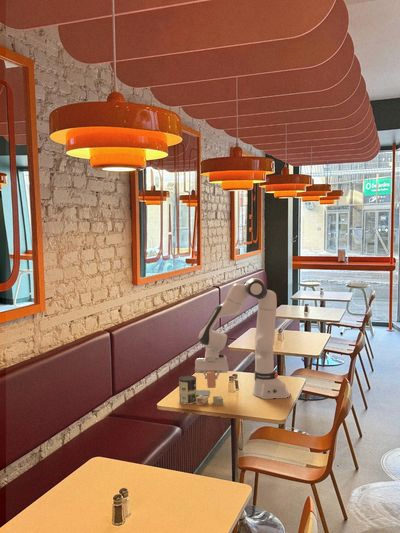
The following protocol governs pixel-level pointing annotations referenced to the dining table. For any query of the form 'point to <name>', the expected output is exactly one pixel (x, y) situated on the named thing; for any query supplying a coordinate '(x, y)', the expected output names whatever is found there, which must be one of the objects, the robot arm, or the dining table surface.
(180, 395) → the coffee can
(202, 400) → the mottled white pinkish lump
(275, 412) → the dining table surface
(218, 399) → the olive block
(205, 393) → the pad
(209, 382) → the pillar
